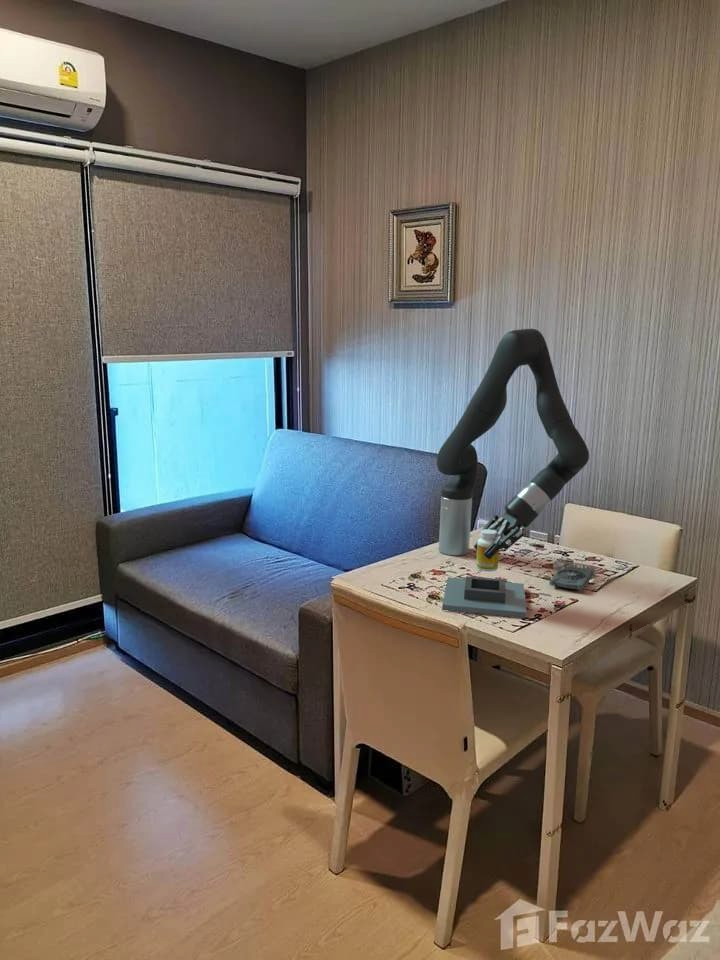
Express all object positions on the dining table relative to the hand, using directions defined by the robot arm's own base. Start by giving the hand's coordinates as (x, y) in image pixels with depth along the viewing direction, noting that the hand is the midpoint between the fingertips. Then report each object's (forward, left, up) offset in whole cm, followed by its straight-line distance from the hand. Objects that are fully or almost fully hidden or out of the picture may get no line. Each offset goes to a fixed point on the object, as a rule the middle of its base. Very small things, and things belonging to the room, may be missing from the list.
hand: (481, 552), depth 186 cm
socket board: (-1, +2, -12) cm, 13 cm away
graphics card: (-20, +24, -13) cm, 34 cm away
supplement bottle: (-1, +2, -4) cm, 5 cm away
